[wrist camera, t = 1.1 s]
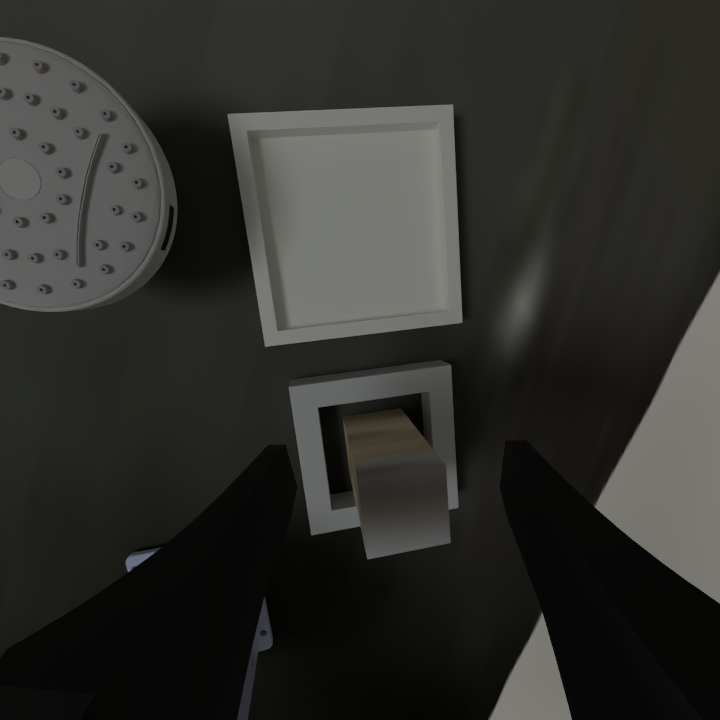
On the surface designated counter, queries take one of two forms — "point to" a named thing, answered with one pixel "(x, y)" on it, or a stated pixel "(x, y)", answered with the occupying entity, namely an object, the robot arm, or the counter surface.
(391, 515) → the peg
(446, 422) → the holder
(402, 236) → the tray
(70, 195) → the showerhead
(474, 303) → the counter surface
